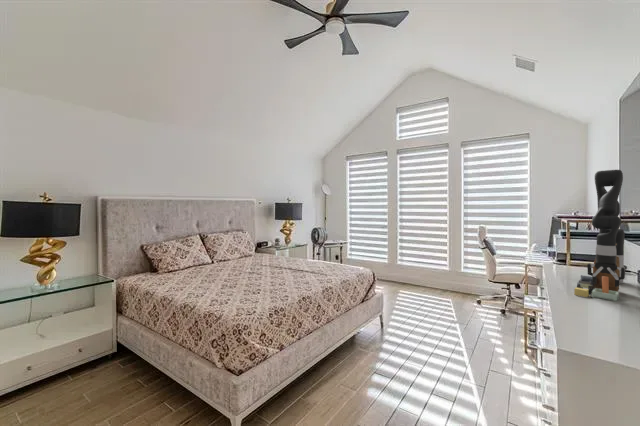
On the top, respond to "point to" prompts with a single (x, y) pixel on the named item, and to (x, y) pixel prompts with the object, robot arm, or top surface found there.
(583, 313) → the top surface
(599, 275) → the brown rounded block
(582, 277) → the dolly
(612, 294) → the tray
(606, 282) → the pin
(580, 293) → the block
